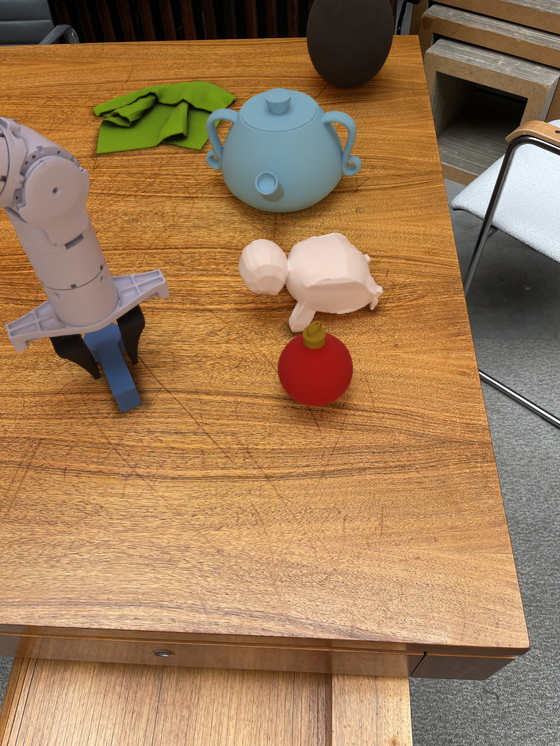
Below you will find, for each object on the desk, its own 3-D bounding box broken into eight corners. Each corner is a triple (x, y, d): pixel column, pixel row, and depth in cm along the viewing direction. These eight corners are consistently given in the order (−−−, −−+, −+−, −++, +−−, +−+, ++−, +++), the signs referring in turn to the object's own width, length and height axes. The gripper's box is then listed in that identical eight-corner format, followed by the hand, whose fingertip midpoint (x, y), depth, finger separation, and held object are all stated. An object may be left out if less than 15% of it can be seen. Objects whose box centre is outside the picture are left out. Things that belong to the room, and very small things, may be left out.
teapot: (364, 153, 86) (369, 60, 76) (352, 255, 74) (356, 160, 64) (222, 149, 89) (208, 58, 78) (188, 246, 77) (167, 154, 67)
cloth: (253, 94, 97) (251, 79, 95) (175, 175, 85) (172, 160, 83) (142, 70, 103) (139, 55, 101) (57, 143, 92) (51, 128, 90)
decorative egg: (307, 65, 101) (305, -41, 89) (386, 61, 100) (394, -46, 88) (307, 108, 93) (304, -2, 82) (392, 104, 93) (401, -7, 81)
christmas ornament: (323, 351, 66) (322, 281, 58) (366, 396, 62) (372, 328, 54) (266, 385, 63) (257, 317, 55) (308, 433, 60) (304, 368, 52)
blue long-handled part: (151, 401, 63) (144, 383, 61) (112, 416, 62) (104, 399, 60) (120, 328, 69) (113, 309, 67) (84, 342, 68) (76, 323, 66)
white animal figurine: (345, 285, 75) (223, 271, 70) (375, 228, 69) (243, 209, 64) (364, 339, 70) (234, 329, 65) (398, 282, 64) (257, 266, 59)
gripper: (138, 212, 57) (168, 313, 68) (-23, 266, 54) (35, 364, 65) (163, 259, 53) (191, 359, 64) (-9, 320, 50) (51, 415, 61)
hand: (114, 365), depth 64 cm, fingers open, 3 cm apart
